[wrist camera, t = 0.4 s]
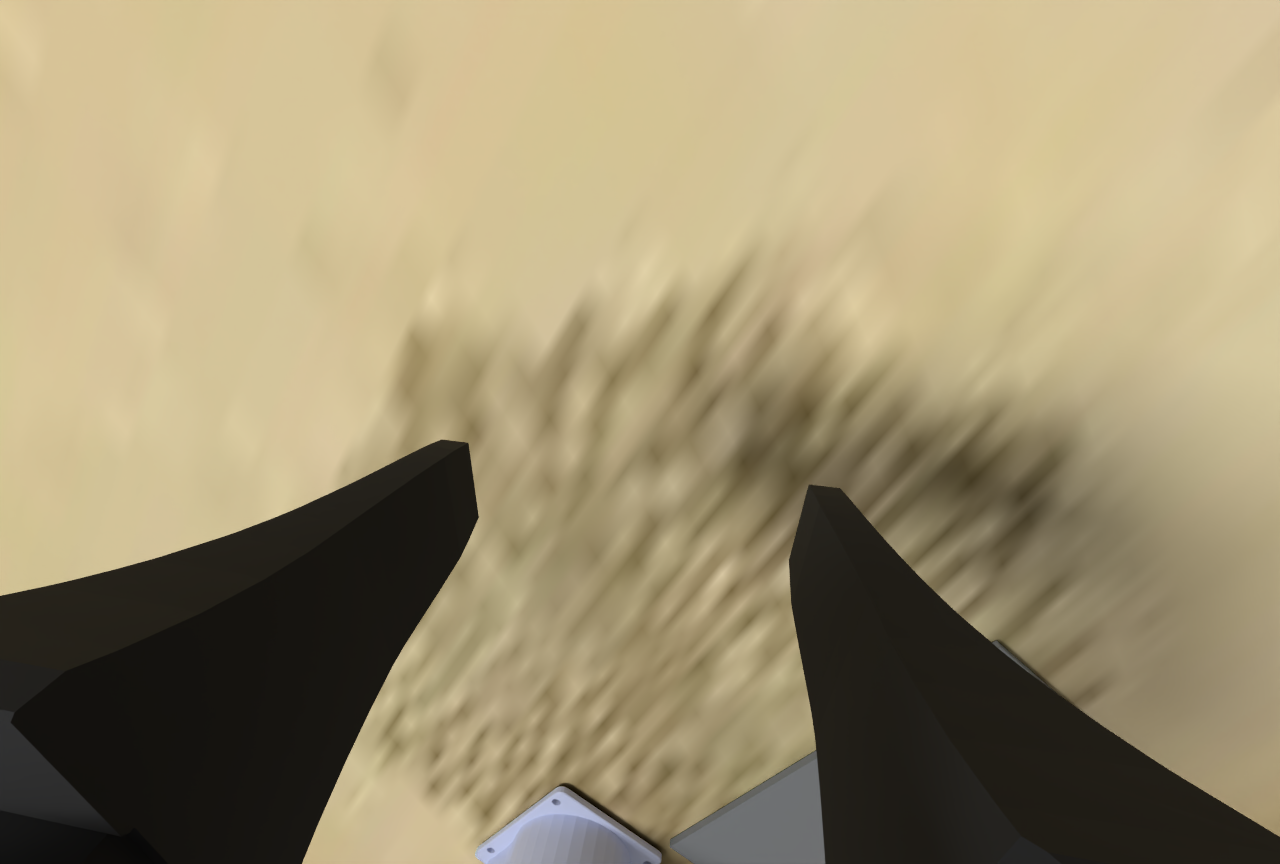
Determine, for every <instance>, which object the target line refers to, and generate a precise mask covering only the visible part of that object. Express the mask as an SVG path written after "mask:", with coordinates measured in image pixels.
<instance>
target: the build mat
mask: <svg viewBox="0 0 1280 864" xmlns="http://www.w3.org/2000/svg"><path fill="white" fill-rule="evenodd" d="M992 644H994V645H995V646H996V647H997V648H998V649H1000V650H1001V651H1002V652H1003V653H1005V654H1006V655H1007V656H1008V657H1010V658H1011V659H1012V660H1013V661H1015V662H1016V663H1017V664H1018V665H1020V666H1021V667H1022V668H1023V669H1025V670H1026V671H1027V672H1029V673H1030V674H1031V675H1033V676H1034V677H1035V678H1037V679H1038V680H1039V681H1041V682H1042V683H1043V684H1045V683H1044V682H1043V681H1042V680H1041V679H1040V678H1039V677H1037V676H1036V675H1035V674H1034V673H1033V672H1032V671H1031V670H1029V669H1028V668H1027V667H1026V666H1025V665H1024V664H1023V663H1021V662H1020V661H1019V660H1018V659H1017V658H1016V657H1015V656H1014V655H1012V654H1011V653H1010V652H1009V651H1008V650H1007V649H1006V648H1004V647H1003V646H1002V645H1001V644H1000V643H999V642H998V641H997V640H996V641H994V642H992ZM1045 685H1046V684H1045ZM1046 686H1047V687H1049V686H1048V685H1046ZM1049 688H1050V687H1049ZM1050 689H1051V688H1050ZM1051 690H1052V689H1051ZM1055 693H1056V692H1055ZM670 848H672V849H673V850H675V851H676V852H678V853H679V854H681V855H682V856H684V857H685V858H686V859H688V860H689V861H691V862H692V863H694V864H825V851H824V838H823V824H822V811H821V797H820V785H819V774H818V763H817V752H816V751H814V752H813V753H811V754H809V755H808V756H806V757H805V758H803V759H801V760H800V761H798V762H796V763H795V764H793V765H791V766H790V767H788V768H787V769H785V770H783V771H782V772H780V773H778V774H777V775H775V776H773V777H772V778H770V779H769V780H767V781H765V782H764V783H762V784H760V785H759V786H757V787H756V788H754V789H752V790H751V791H749V792H747V793H746V794H744V795H742V796H741V797H739V798H738V799H736V800H734V801H733V802H731V803H729V804H728V805H726V806H724V807H723V808H721V809H720V810H718V811H716V812H715V813H713V814H711V815H710V816H708V817H707V818H705V819H703V820H702V821H700V822H698V823H697V824H695V825H693V826H692V827H690V828H689V829H687V830H685V831H684V832H682V833H680V834H679V835H677V836H675V837H674V838H672V839H671V840H670Z"/></svg>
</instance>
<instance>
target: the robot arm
mask: <svg viewBox="0 0 1280 864" xmlns="http://www.w3.org/2000/svg"><path fill="white" fill-rule="evenodd" d="M478 518H479V516H478V509H477V502H476V495H475V487H474V480H473V473H472V466H471V459H470V451H469V444H468V443H465V442H457V441H449V440H440V441H437V442H435V443H432V444H430V445H428V446H426V447H423V448H421V449H419V450H417V451H415V452H413V453H411V454H409V455H407V456H405V457H403V458H401V459H399V460H397V461H395V462H393V463H391V464H389V465H387V466H385V467H383V468H381V469H379V470H377V471H375V472H373V473H371V474H369V475H367V476H365V477H363V478H361V479H359V480H358V481H356V482H353V483H351V484H349V485H347V486H345V487H343V488H341V489H339V490H336V491H334V492H332V493H330V494H328V495H326V496H323V497H321V498H319V499H317V500H315V501H313V502H310V503H308V504H306V505H304V506H302V507H299V508H297V509H295V510H292V511H290V512H288V513H285V514H283V515H280V516H278V517H275V518H273V519H270V520H268V521H265V522H262V523H260V524H257V525H255V526H252V527H249V528H247V529H244V530H241V531H239V532H236V533H233V534H230V535H227V536H225V537H221V538H218V539H215V540H212V541H209V542H206V543H203V544H200V545H196V546H193V547H190V548H187V549H184V550H181V551H178V552H175V553H171V554H168V555H165V556H162V557H159V558H155V559H152V560H148V561H145V562H141V563H137V564H134V565H130V566H126V567H123V568H119V569H115V570H111V571H108V572H104V573H100V574H96V575H92V576H88V577H84V578H80V579H76V580H72V581H67V582H63V583H59V584H54V585H50V586H46V587H41V588H36V589H31V590H27V591H22V592H17V593H12V594H7V595H3V596H0V864H302V862H303V859H304V857H305V854H306V852H307V850H308V847H309V845H310V842H311V840H312V837H313V835H314V832H315V830H316V827H317V825H318V823H319V820H320V818H321V816H322V814H323V811H324V809H325V807H326V805H327V802H328V800H329V798H330V796H331V793H332V791H333V789H334V786H335V784H336V782H337V780H338V777H339V775H340V773H341V771H342V768H343V766H344V764H345V762H346V760H347V757H348V755H349V753H350V751H351V749H352V747H353V745H354V743H355V741H356V738H357V736H358V734H359V732H360V730H361V728H362V726H363V724H364V722H365V720H366V717H367V715H368V713H369V711H370V709H371V707H372V705H373V703H374V701H375V699H376V697H377V695H378V693H379V691H380V689H381V687H382V686H383V684H384V682H385V680H386V678H387V676H388V674H389V672H390V670H391V668H392V666H393V664H394V662H395V661H396V659H397V657H398V656H399V654H400V652H401V650H402V649H403V647H404V645H405V644H406V642H407V641H408V639H409V637H410V636H411V634H412V633H413V631H414V630H415V628H416V626H417V625H418V623H419V622H420V620H421V619H422V617H423V616H424V614H425V612H426V611H427V609H428V608H429V606H430V605H431V603H432V602H433V600H434V598H435V597H436V595H437V594H438V592H439V591H440V589H441V588H442V586H443V584H444V583H445V581H446V580H447V578H448V576H449V575H450V573H451V572H452V570H453V568H454V567H455V565H456V564H457V562H458V560H459V559H460V557H461V555H462V553H463V551H464V549H465V547H466V545H467V542H468V540H469V538H470V536H471V534H472V531H473V529H474V527H475V524H476V522H477V520H478ZM789 569H790V588H791V604H792V610H793V616H794V621H795V627H796V632H797V638H798V643H799V648H800V654H801V659H802V664H803V670H804V675H805V680H806V685H807V691H808V696H809V701H810V707H811V712H812V719H813V726H814V732H815V740H816V752H817V763H818V774H819V785H820V797H821V811H822V824H823V838H824V851H825V864H1280V837H1279V836H1277V835H1276V834H1274V833H1272V832H1271V831H1269V830H1267V829H1266V828H1264V827H1262V826H1261V825H1259V824H1257V823H1256V822H1254V821H1252V820H1251V819H1249V818H1247V817H1246V816H1244V815H1242V814H1241V813H1239V812H1237V811H1236V810H1234V809H1232V808H1231V807H1229V806H1228V805H1226V804H1224V803H1223V802H1221V801H1219V800H1218V799H1216V798H1214V797H1213V796H1211V795H1209V794H1208V793H1206V792H1204V791H1203V790H1201V789H1199V788H1198V787H1196V786H1194V785H1193V784H1191V783H1189V782H1188V781H1186V780H1184V779H1183V778H1181V777H1180V776H1178V775H1176V774H1175V773H1173V772H1171V771H1170V770H1168V769H1167V768H1165V767H1164V766H1162V765H1160V764H1159V763H1157V762H1156V761H1154V760H1153V759H1151V758H1150V757H1148V756H1147V755H1145V754H1144V753H1142V752H1141V751H1139V750H1138V749H1136V748H1135V747H1133V746H1132V745H1130V744H1129V743H1127V742H1126V741H1124V740H1123V739H1121V738H1120V737H1118V736H1117V735H1115V734H1114V733H1112V732H1111V731H1109V730H1108V729H1106V728H1105V727H1103V726H1102V725H1100V724H1099V723H1097V722H1096V721H1095V720H1093V719H1092V718H1090V717H1089V716H1087V715H1086V714H1085V713H1083V712H1082V711H1080V710H1079V709H1077V708H1076V707H1075V706H1073V705H1072V704H1070V703H1069V702H1068V701H1066V700H1065V699H1063V698H1062V697H1061V696H1059V695H1058V694H1057V693H1055V692H1054V691H1053V690H1051V689H1050V688H1049V687H1047V686H1046V685H1045V684H1043V683H1042V682H1041V681H1039V680H1038V679H1037V678H1035V677H1034V676H1033V675H1031V674H1030V673H1029V672H1027V671H1026V670H1025V669H1023V668H1022V667H1021V666H1020V665H1018V664H1017V663H1016V662H1015V661H1013V660H1012V659H1011V658H1010V657H1008V656H1007V655H1006V654H1005V653H1003V652H1002V651H1001V650H1000V649H998V648H997V647H996V646H995V645H994V644H992V643H991V642H990V641H989V640H988V639H987V638H985V637H984V636H983V635H982V634H981V633H980V632H978V631H977V630H976V629H975V628H974V627H973V626H971V625H970V624H969V623H968V622H967V621H966V620H964V619H963V618H962V617H961V616H960V615H959V614H958V613H957V612H956V611H954V610H953V609H952V608H951V607H950V606H949V605H948V604H947V603H946V602H945V601H944V600H943V599H942V598H941V597H940V596H939V595H938V594H937V593H936V592H935V591H933V590H932V589H931V588H930V587H929V586H928V585H927V584H926V583H925V582H924V581H923V580H922V579H921V578H920V577H919V576H918V575H917V574H916V573H915V572H914V571H913V570H912V569H911V568H910V566H909V565H908V564H907V563H906V562H905V561H904V560H903V559H902V558H901V557H900V556H899V555H898V554H897V553H896V552H895V550H894V549H893V548H892V547H891V546H890V545H889V544H888V543H887V542H886V541H885V539H884V538H883V537H882V536H881V535H880V534H879V533H878V532H877V530H876V529H875V528H874V527H873V526H872V525H871V523H870V522H869V521H868V520H867V519H866V518H865V517H864V515H863V514H862V513H861V512H860V511H859V510H858V508H857V507H856V506H855V505H854V504H853V503H852V501H851V500H850V499H849V498H848V497H847V496H846V494H845V493H844V492H843V491H842V490H841V489H840V488H832V487H824V486H816V485H809V486H808V490H807V494H806V497H805V501H804V505H803V509H802V513H801V517H800V520H799V524H798V528H797V532H796V536H795V539H794V543H793V547H792V551H791V555H790V558H789ZM475 856H476V858H477V859H479V860H480V861H482V862H483V863H485V864H660V863H661V859H662V854H661V852H660V851H659V850H657V849H656V848H654V847H653V846H651V845H650V844H648V843H647V842H646V841H644V840H643V839H641V838H640V837H638V836H637V835H635V834H634V833H632V832H631V831H629V830H628V829H627V828H625V827H624V826H622V825H621V824H619V823H618V822H616V821H615V820H613V819H612V818H611V817H609V816H608V815H606V814H605V813H603V812H602V811H600V810H599V809H597V808H596V807H594V806H593V805H592V804H590V803H589V802H587V801H586V800H584V799H583V798H581V797H580V796H578V795H577V794H576V793H574V792H573V791H571V790H570V789H568V788H566V787H563V786H559V787H557V788H555V789H554V790H553V791H551V792H550V793H549V794H547V795H546V796H545V797H543V798H542V799H541V800H539V801H538V802H537V803H535V804H534V805H533V806H531V807H530V808H529V809H527V810H526V811H525V812H523V813H522V814H521V815H519V816H518V817H517V818H516V819H514V820H513V821H512V822H510V823H509V824H508V825H506V826H505V827H504V828H502V829H501V830H500V831H498V832H497V833H496V834H494V835H493V836H492V837H490V838H489V839H488V840H486V841H485V842H484V843H482V844H481V845H480V846H478V848H477V850H476V852H475Z"/></svg>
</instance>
